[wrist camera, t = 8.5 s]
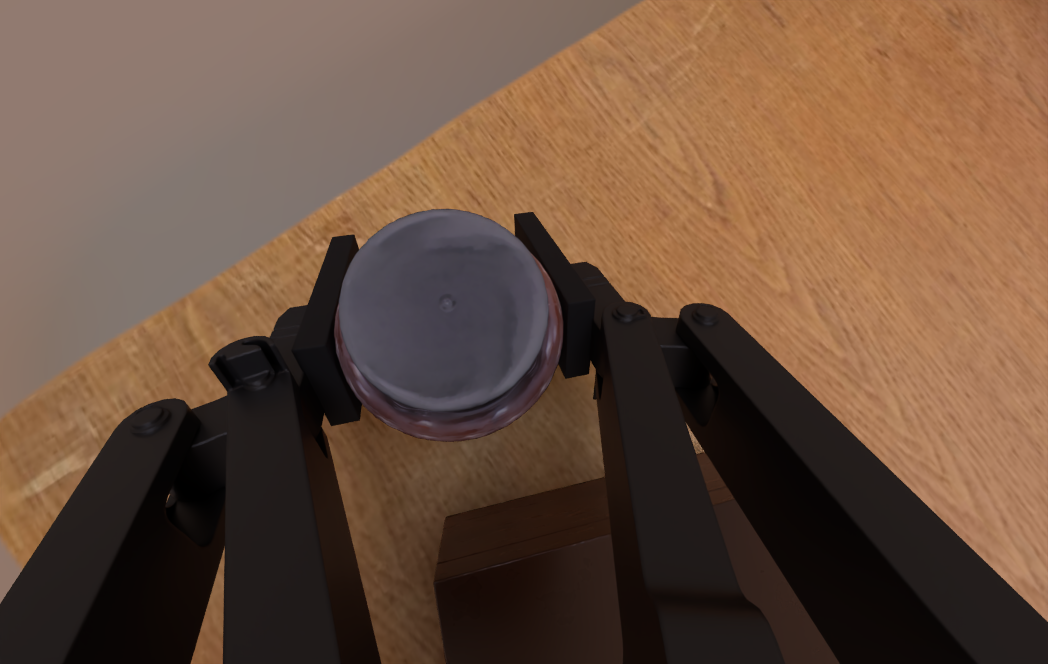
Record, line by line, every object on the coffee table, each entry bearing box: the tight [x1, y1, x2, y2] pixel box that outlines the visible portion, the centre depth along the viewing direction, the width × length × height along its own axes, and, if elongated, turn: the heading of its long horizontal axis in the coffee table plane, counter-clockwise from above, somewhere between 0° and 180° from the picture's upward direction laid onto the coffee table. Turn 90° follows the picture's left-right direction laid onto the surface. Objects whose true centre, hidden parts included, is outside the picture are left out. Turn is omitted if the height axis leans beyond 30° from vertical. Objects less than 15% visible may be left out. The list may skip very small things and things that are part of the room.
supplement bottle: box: [334, 209, 563, 442], centre depth 13 cm, size 6×6×11 cm
